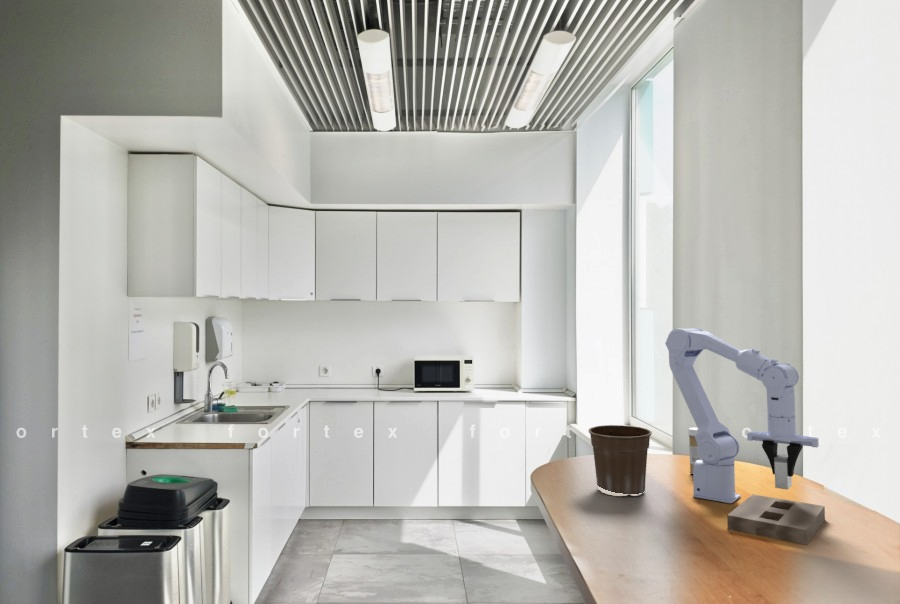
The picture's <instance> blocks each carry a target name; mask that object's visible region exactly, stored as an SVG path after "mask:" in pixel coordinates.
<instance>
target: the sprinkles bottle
mask: <svg viewBox="0 0 900 604" xmlns="http://www.w3.org/2000/svg"><path fill="white" fill-rule="evenodd" d="M697 430H698V428H697V427H689V428H688V436H689V444H688V445H689V446H688V447H689V451H688V452H689V469H690V470H689V474H690V473H691V474H693V468H694V463H695V462H696V460H703V459H702V458H701V457H700V456H699V453H698V445H697V441H696V439H695V435H696V433H697ZM691 474H690V475H691Z"/></svg>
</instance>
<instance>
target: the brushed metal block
mask: <svg viewBox="0 0 900 604" xmlns="http://www.w3.org/2000/svg"><path fill="white" fill-rule="evenodd" d="M774 463H775V474H774V488H775V489H779V490H780V489H782V490H789V489H790V488H791V487H792V486H793V483H792V481H793V480H792V479H793V478H792V477H790V476H788V454H782V453H781V454H779V453H777V456H775V457H774Z"/></svg>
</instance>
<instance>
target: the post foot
mask: <svg viewBox="0 0 900 604" xmlns="http://www.w3.org/2000/svg"><path fill="white" fill-rule="evenodd" d="M825 509H826V508H825V505H819V504H815V503H814V504H813V503H807V502H801V501H794V500H789V499H783V498H776V497H771V496H764V495H759V494H758V495H757V494H751V495H750V496H748V497H747V498H746V499H745V500H744V501H742V502H741V503H740V504H739V505H737V507H735V508H734V509H732V511H730V512H729V513H728V514H726V515H727V516H726V517H727V518H726V519H727V530H730V531H735V532H740V533H746V534H751V535H755V536H760V537H765V538H769V539H774V540H780V541H784V542H790V543H795V544H800V545H804V546H808V545H809V543H810V542H811V540H812V539H813V538H814V536H815V535H816V534H817V532H818V530H819V529H820V528H821V526H822V524H823V523H824V522H825V520H826V514H825V513H826V510H825Z"/></svg>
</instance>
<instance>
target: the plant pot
mask: <svg viewBox="0 0 900 604" xmlns="http://www.w3.org/2000/svg"><path fill="white" fill-rule="evenodd" d="M587 431H588V433H589V435H590V443H591V446H592V449H593V450H592V451H593V459H594V460H593V461H594V467H595V477H596V486H597V485H598V486H599V487H601V488H603V489H605V490H608V491H611V492H615V493H623V494H639V493H643V492H644V491H645V492H646V478H647V477H646V476H647V464H648V463H647V461H648V460H647V459H648V451H649V450H648V449H649V448H650V438H651V435H652V434H653V432H652V431H651V430H649V429H648V428H645V427H641V426H632V425H620V424H619V425H618V424H617V425H614V424H613V425H612V424H609V425H607V424H606V425H597V426H594V427H593V426H592V427H590V428H588V430H587Z"/></svg>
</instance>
